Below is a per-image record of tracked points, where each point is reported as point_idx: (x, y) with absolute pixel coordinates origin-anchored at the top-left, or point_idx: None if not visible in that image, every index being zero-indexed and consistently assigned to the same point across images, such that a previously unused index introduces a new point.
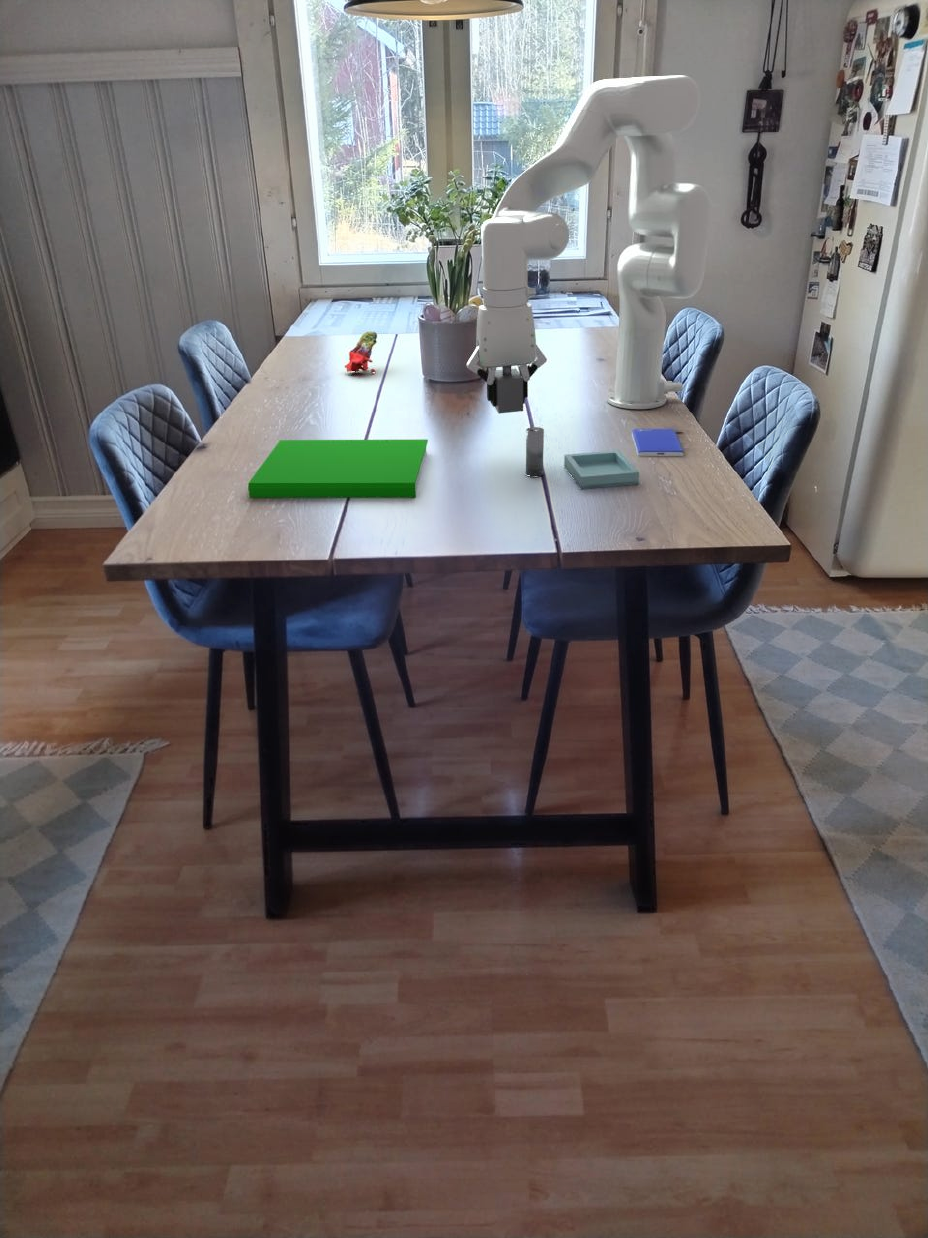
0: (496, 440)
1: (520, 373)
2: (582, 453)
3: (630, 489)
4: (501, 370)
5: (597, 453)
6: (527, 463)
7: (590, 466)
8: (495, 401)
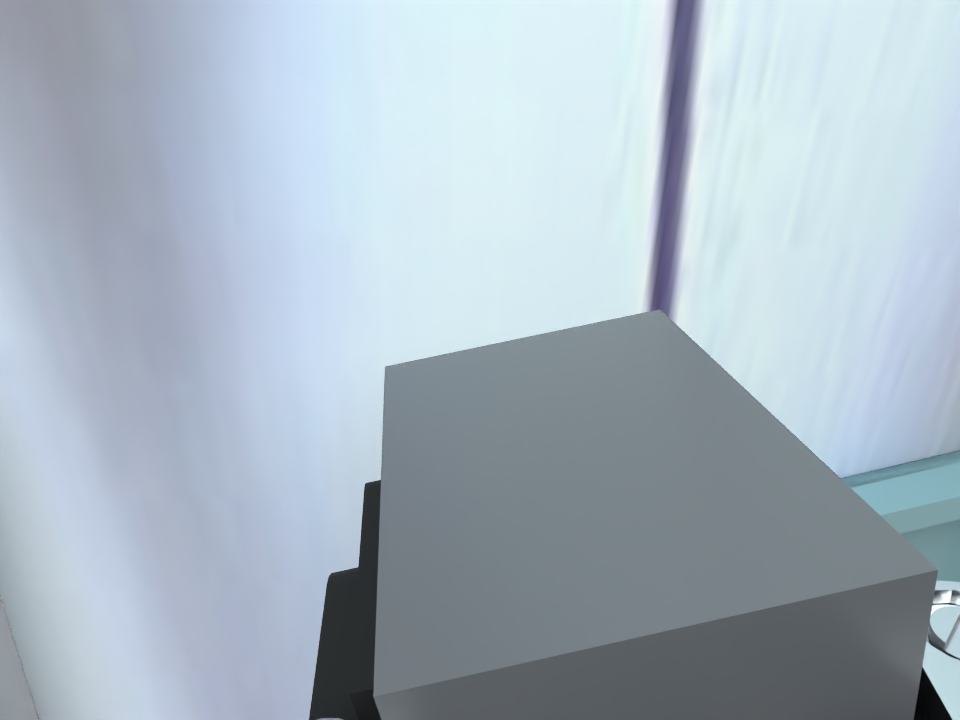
0: (402, 43)
1: (919, 695)
2: None
3: None
4: (602, 678)
5: (947, 517)
6: None
7: None
8: None
